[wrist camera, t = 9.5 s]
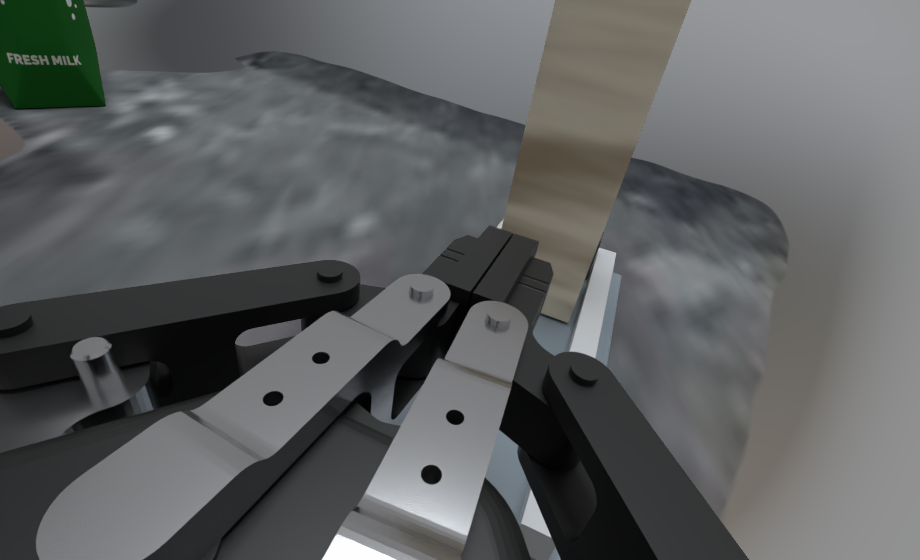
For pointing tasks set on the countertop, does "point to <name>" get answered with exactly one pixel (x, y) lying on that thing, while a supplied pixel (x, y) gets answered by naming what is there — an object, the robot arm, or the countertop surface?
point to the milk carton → (48, 55)
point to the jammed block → (586, 129)
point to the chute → (580, 334)
